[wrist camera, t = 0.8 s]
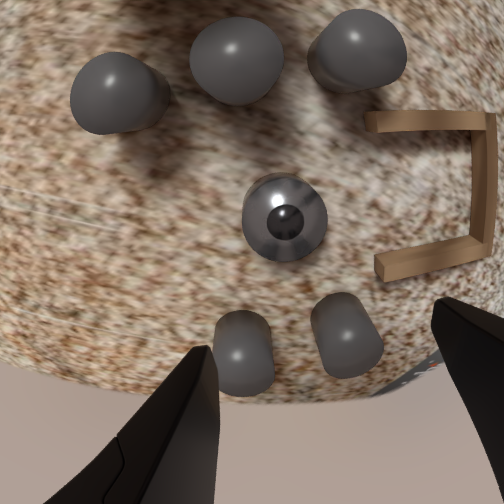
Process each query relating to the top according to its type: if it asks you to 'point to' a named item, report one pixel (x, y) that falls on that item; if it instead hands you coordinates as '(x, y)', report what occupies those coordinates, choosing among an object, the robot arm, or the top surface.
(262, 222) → the grey metallic short cylinder
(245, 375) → the spacers
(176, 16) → the top surface
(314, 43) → the spacers
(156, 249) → the top surface
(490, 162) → the corral
